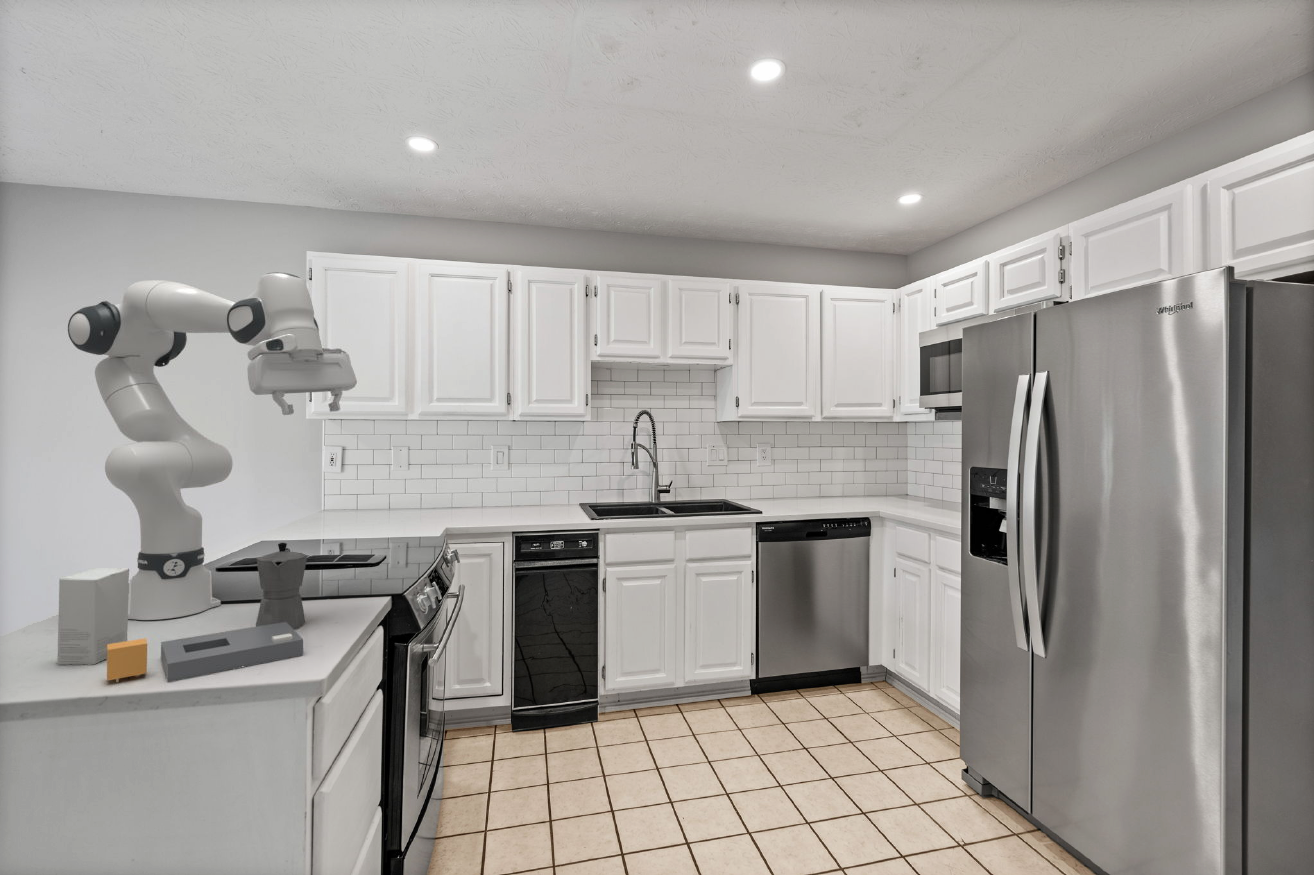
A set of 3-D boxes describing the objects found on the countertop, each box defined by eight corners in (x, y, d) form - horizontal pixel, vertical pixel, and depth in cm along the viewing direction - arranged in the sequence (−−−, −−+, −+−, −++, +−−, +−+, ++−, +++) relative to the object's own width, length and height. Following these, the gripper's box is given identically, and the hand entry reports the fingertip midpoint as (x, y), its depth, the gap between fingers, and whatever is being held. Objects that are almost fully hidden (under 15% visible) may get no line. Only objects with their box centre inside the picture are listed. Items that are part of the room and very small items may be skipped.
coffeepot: (302, 633, 129) (304, 546, 129) (249, 638, 125) (251, 549, 125) (309, 613, 143) (311, 535, 143) (261, 617, 139) (263, 537, 139)
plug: (106, 678, 104) (107, 644, 104) (145, 671, 107) (145, 638, 107) (106, 685, 101) (107, 649, 101) (146, 677, 105) (147, 643, 105)
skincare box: (93, 649, 117) (95, 567, 117) (131, 649, 118) (132, 567, 118) (54, 666, 109) (56, 577, 109) (94, 665, 110) (96, 577, 110)
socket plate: (160, 658, 114) (161, 638, 114) (285, 636, 127) (286, 618, 127) (167, 681, 103) (168, 660, 103) (302, 655, 117) (303, 636, 117)
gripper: (340, 353, 140) (354, 412, 139) (238, 352, 123) (253, 420, 123) (354, 344, 136) (368, 405, 135) (250, 342, 120) (266, 412, 119)
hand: (312, 412), depth 129 cm, fingers open, 8 cm apart
